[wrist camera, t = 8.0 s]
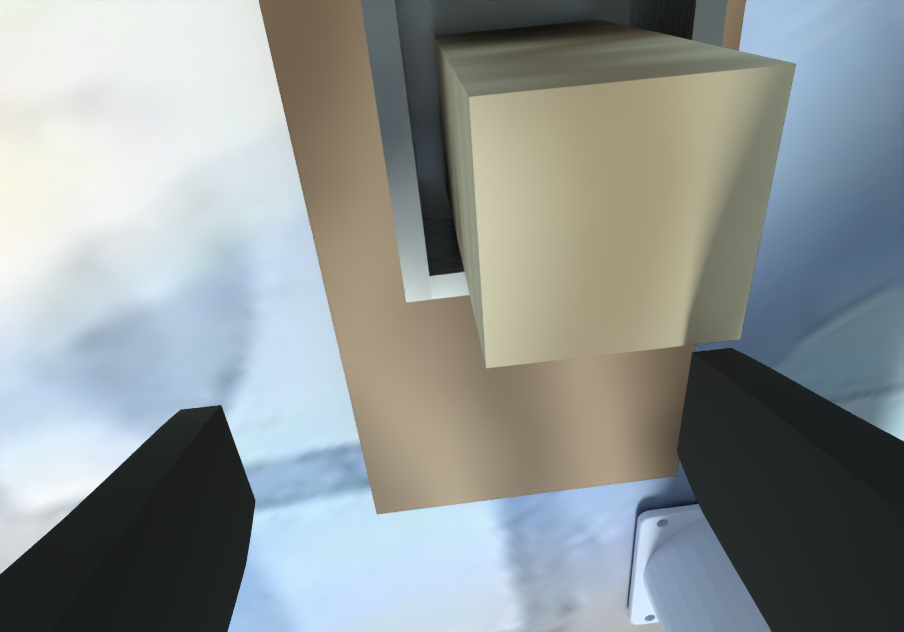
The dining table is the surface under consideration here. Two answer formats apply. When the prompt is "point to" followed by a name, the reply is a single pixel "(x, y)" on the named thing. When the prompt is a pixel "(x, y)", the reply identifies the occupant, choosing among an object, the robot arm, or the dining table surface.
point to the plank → (446, 317)
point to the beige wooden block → (606, 185)
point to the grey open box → (418, 108)
